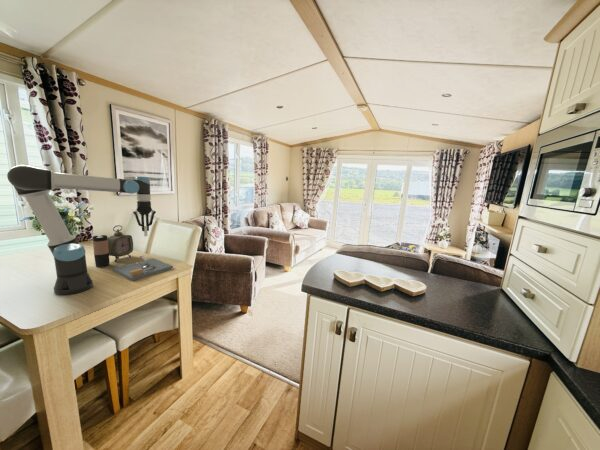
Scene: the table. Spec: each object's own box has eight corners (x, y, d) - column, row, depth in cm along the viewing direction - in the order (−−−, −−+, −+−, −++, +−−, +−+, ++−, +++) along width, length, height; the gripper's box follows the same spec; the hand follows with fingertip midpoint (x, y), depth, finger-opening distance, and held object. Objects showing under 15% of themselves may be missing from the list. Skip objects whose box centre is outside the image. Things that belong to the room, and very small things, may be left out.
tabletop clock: (115, 263, 164) (112, 227, 159) (105, 261, 165) (101, 226, 161) (134, 256, 178) (131, 224, 173) (124, 255, 179) (121, 223, 174)
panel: (131, 280, 139) (131, 277, 139) (113, 270, 151) (112, 267, 151) (173, 268, 160) (172, 265, 160) (153, 260, 172) (153, 257, 172)
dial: (154, 267, 154) (154, 260, 153) (143, 270, 150) (143, 262, 149) (146, 261, 163) (146, 254, 162) (136, 263, 159) (135, 256, 158)
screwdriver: (131, 276, 141) (131, 272, 140) (129, 275, 142) (129, 271, 141) (153, 270, 151) (153, 266, 150) (151, 269, 152) (151, 265, 152)
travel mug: (103, 267, 155) (100, 238, 151) (92, 267, 155) (88, 237, 151) (113, 263, 162) (110, 235, 159) (102, 263, 163) (99, 234, 159)
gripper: (154, 200, 162) (155, 233, 166) (131, 200, 153) (133, 235, 158) (156, 201, 156) (158, 236, 161) (132, 201, 148) (134, 238, 152)
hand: (145, 235), depth 159 cm, fingers closed
